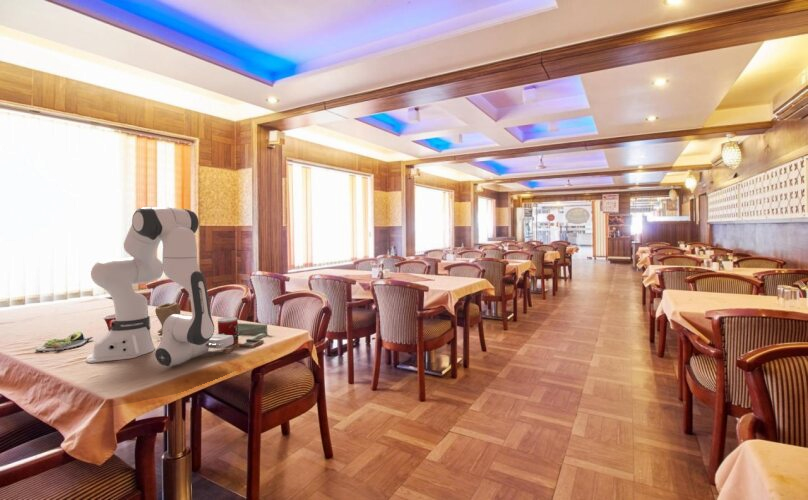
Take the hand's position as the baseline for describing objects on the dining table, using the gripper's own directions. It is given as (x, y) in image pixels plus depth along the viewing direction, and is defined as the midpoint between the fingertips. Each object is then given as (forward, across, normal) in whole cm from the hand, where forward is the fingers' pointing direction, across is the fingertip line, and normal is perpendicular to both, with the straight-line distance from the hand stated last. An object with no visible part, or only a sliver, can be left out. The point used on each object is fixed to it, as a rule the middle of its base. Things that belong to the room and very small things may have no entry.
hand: (222, 335), depth 167 cm
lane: (+7, 0, +5) cm, 8 cm away
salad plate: (-12, +73, +6) cm, 74 cm away
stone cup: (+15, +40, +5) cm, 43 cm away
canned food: (+4, 0, +5) cm, 6 cm away
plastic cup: (0, +57, +5) cm, 57 cm away
